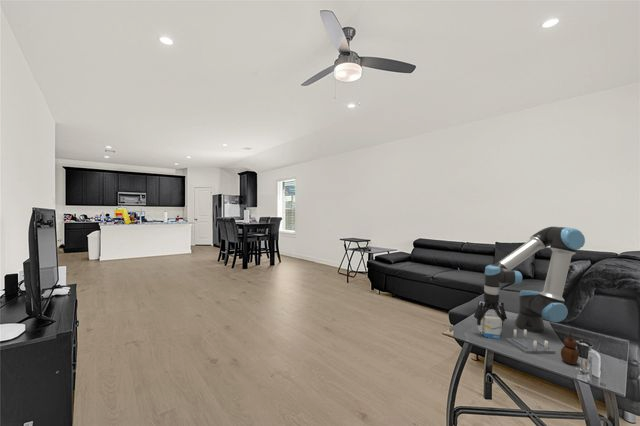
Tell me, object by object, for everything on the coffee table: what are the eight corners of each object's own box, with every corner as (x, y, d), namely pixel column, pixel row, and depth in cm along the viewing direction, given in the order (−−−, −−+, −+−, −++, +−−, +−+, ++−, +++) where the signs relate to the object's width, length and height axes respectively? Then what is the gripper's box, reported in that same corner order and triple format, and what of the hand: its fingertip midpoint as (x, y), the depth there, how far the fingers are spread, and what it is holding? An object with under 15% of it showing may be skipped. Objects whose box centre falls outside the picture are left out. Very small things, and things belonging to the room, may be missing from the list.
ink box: (500, 339, 159) (501, 318, 159) (484, 337, 160) (485, 317, 160) (494, 333, 167) (495, 313, 167) (478, 331, 169) (479, 311, 169)
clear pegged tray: (532, 340, 159) (532, 329, 159) (556, 353, 144) (556, 341, 144) (505, 340, 158) (505, 329, 158) (526, 353, 143) (527, 341, 143)
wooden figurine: (572, 366, 132) (574, 335, 132) (558, 360, 138) (559, 330, 137) (580, 364, 135) (582, 333, 135) (566, 358, 140) (567, 328, 140)
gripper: (506, 291, 168) (504, 328, 168) (468, 290, 166) (466, 327, 167) (515, 295, 160) (513, 333, 161) (476, 294, 159) (474, 333, 159)
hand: (489, 330), depth 164 cm, fingers open, 11 cm apart
